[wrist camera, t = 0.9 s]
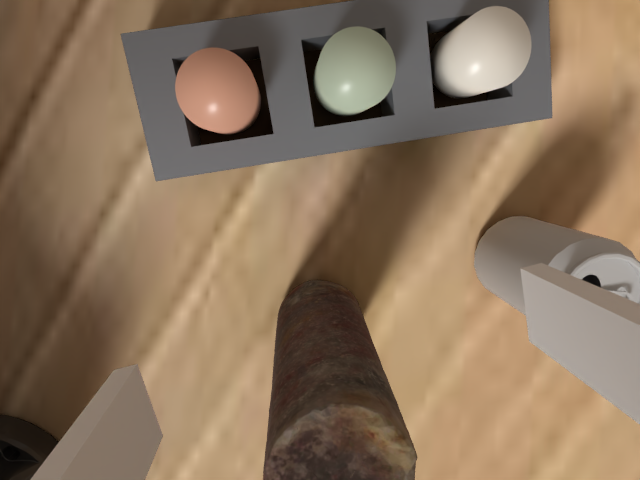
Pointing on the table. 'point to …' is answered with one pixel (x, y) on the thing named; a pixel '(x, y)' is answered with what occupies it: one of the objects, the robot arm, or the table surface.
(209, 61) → the pinkish-brown oval egg
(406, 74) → the grey egg tray
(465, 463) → the table surface
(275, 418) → the dark brown tall cylinder
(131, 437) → the robot arm
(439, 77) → the white egg
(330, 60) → the pale green egg
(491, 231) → the can
